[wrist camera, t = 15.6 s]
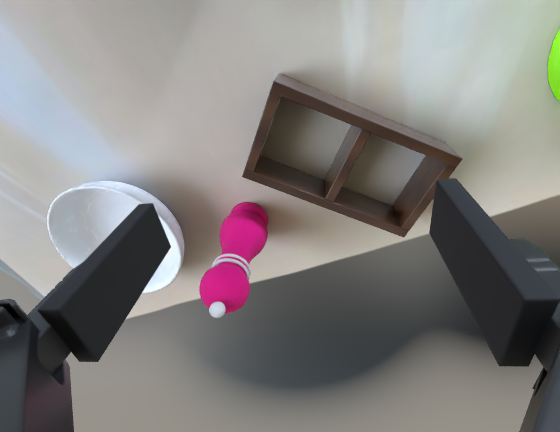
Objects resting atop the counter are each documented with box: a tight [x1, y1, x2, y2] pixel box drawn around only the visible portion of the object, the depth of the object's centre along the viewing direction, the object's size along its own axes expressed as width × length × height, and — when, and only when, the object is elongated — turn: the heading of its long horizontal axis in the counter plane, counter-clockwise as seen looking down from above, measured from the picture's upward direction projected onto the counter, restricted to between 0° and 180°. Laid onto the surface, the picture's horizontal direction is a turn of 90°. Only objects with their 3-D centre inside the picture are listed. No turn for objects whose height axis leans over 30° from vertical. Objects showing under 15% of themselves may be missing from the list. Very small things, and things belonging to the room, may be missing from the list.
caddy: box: [242, 74, 462, 237], centre depth 40 cm, size 12×24×6 cm, turn 70°
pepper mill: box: [200, 203, 268, 318], centre depth 42 cm, size 7×7×20 cm
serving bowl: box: [47, 181, 184, 293], centre depth 51 cm, size 21×21×7 cm
